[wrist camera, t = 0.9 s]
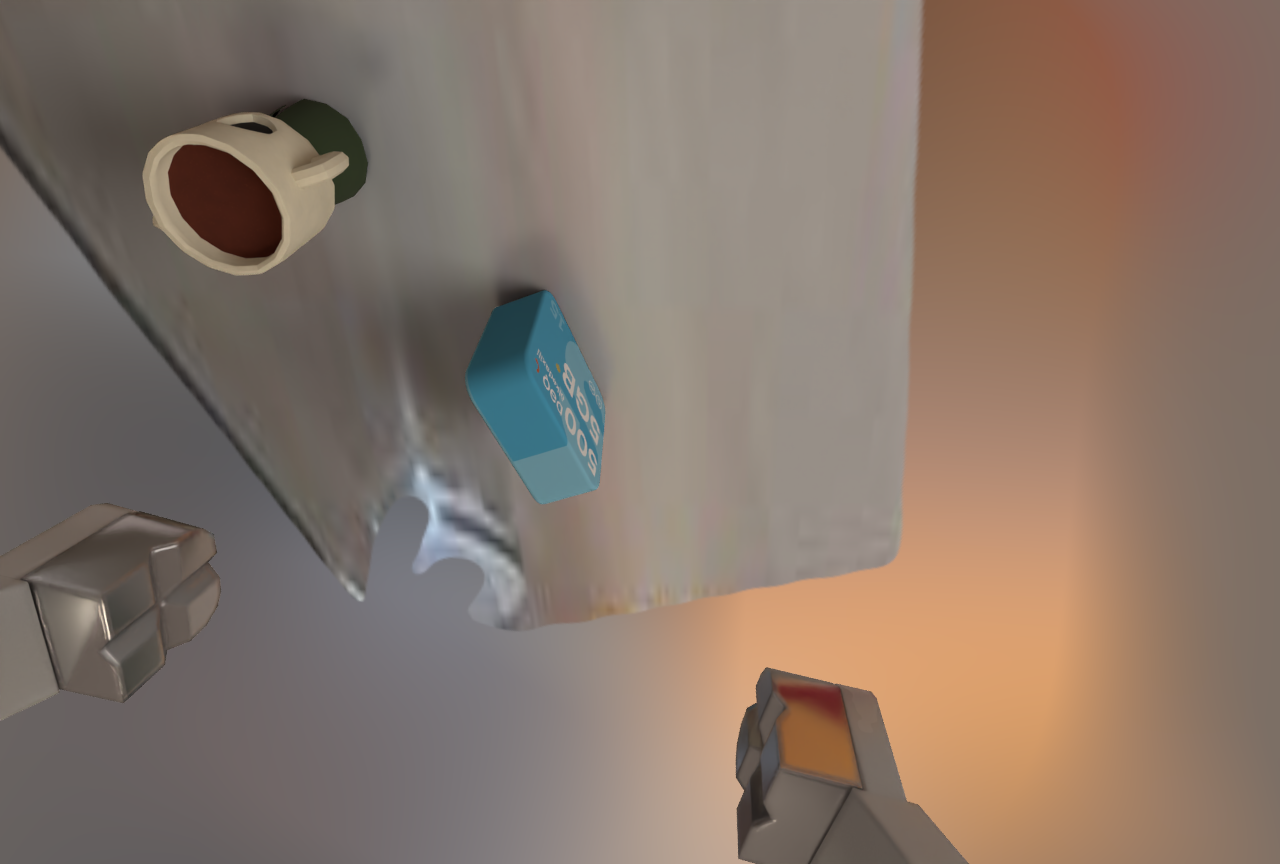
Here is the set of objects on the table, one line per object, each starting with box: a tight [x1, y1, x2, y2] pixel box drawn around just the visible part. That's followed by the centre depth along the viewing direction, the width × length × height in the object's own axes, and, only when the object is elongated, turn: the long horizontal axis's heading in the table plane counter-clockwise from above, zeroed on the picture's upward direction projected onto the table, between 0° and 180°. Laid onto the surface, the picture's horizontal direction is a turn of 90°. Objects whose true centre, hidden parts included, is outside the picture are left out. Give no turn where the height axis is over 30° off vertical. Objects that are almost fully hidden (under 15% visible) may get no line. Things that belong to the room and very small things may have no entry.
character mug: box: [142, 99, 368, 275], centre depth 36 cm, size 11×7×13 cm, turn 105°
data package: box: [465, 290, 605, 504], centre depth 46 cm, size 12×4×12 cm, turn 20°
